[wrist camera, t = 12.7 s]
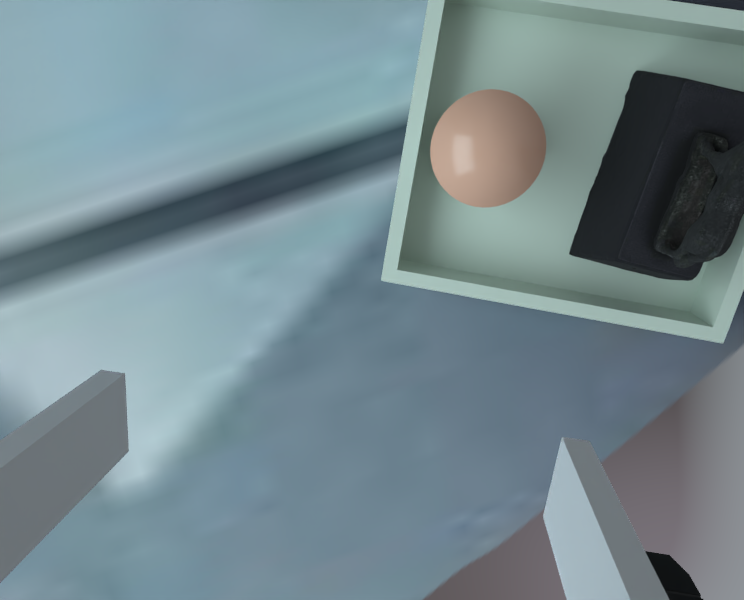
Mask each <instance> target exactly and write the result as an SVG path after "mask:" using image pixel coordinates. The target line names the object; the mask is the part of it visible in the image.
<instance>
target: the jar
mask: <svg viewBox="0 0 744 600" xmlns="http://www.w3.org/2000/svg"><path fill="white" fill-rule="evenodd" d="M545 155H546V135H545V130H544V127H543V124H542V122H541V120H540V118H539V116H538V114H537V113H536V111H535V110H534V109H533V107H532V106H531V105H530V104H529V103H528V102H526V101H525V100H524V99H522V98H521V97H519V96H517V95H515V94H513V93H510V92H508V91H503V90H496V89H487V90H480V91H476V92H473V93H470V94H468V95H466V96H464V97H462V98H460V99H459V100H457V101H456V102H454V103H453V104H452V105H451V106H450V107H449V108H448V109H447V110H446V111H445V112H444V114H443V115H442V116H441V118H440V119H439V121H438V123H437V125H436V127H435V130H434V132H433V136H432V140H431V147H430V157H431V164H432V168H433V171H434V174H435V176H436V178H437V180H438V182H439V183H440V185H441V186H442V187H443V189H444V190H445V191H446V192H447V193H448V194H449V195H451V196H452V197H453V198H455V199H456V200H458V201H460V202H462V203H464V204H467V205H470V206H474V207H482V208H485V207H496V206H500V205H503V204H506V203H508V202H511V201H513V200H514V199H516V198H518V197H519V196H521V195H522V194H523V193H524V192H525V191H526V190H527V189H529V188H530V186H531V185H532V184H533V183H534V181H535V180H536V178H537V177H538V175H539V173H540V171H541V169H542V166H543V163H544V160H545Z"/></svg>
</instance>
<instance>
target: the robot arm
mask: <svg viewBox="0 0 744 600" xmlns="http://www.w3.org/2000/svg"><path fill="white" fill-rule="evenodd" d="M128 451H129V449H128V427H127V406H126V385H125V373H119V372H112V371H105V370H100V371H99V372H98V373H96V374H95V375H93V376H92V377H90V378H89V379H88V380H86V381H85V382H83V383H82V384H80V385H79V386H78V387H76V388H75V389H73V390H72V391H70V392H69V393H68V394H66V395H65V396H63V397H62V398H60V399H59V400H57V401H56V402H55V403H53V404H52V405H50V406H49V407H47V408H46V409H45V410H43V411H42V412H40V413H39V414H37V415H36V416H35V417H33V418H32V419H30V420H29V421H27V422H26V423H25V424H23V425H22V426H20V427H19V428H17V429H16V430H14V431H13V432H12V433H10V434H9V435H7V436H6V437H4V438H3V439H2V440H0V583H1V582H2V581H3V579H4V578H5V577H6V576H7V575H8V574H9V573H10V572H11V571H12V570H13V569H14V568H15V567H16V566H17V565H18V564H19V563H20V562H21V561H22V560H23V559H24V558H25V557H26V556H27V555H28V554H29V553H30V552H31V551H32V550H33V549H34V548H35V547H36V546H37V545H38V544H39V543H40V542H41V541H42V540H43V539H44V537H45V536H46V535H47V534H48V533H49V532H50V531H51V530H52V529H53V528H54V527H55V526H56V525H57V524H58V523H59V522H60V521H61V520H62V519H63V518H64V517H65V516H66V515H67V514H68V513H69V512H70V511H71V510H72V509H73V508H74V507H75V506H76V505H77V504H78V503H79V502H80V501H81V500H82V499H83V498H84V496H85V495H86V494H87V493H88V492H89V491H90V490H91V489H92V488H93V487H94V486H95V485H96V484H97V483H98V482H99V481H100V480H101V479H102V478H103V477H104V476H105V475H106V474H107V473H108V472H109V471H110V470H111V469H112V468H113V467H114V466H115V465H116V464H117V463H118V462H119V461H120V460H121V459H122V458H123V457H124V455H125V454H126V453H127V452H128ZM543 518H544V521H545V525H546V528H547V532H548V535H549V539H550V542H551V546H552V549H553V553H554V557H555V560H556V564H557V567H558V571H559V574H560V578H561V581H562V585H563V588H564V592H565V596H566V599H567V600H703V599H701V597H700V596H701V595H700V593H699V591H698V590H697V588H696V586H695V584H694V583H693V581H692V579H691V577H690V576H689V574H688V573H687V572H686V571H685V570H684V569H683V568H681V566H680V565H679V564H678V563H677V562H676V561H675V560H673V558H672V557H671V556H670V555H665V554H659V553H652V552H646V551H645V550H644V548H643V546H642V544H641V542H640V540H639V539H638V537H637V535H636V532H635V531H634V529H633V526H632V524H631V523H630V521H629V519H628V517H627V515H626V513H625V511H624V509H623V507H622V505H621V503H620V501H619V499H618V497H617V495H616V493H615V491H614V489H613V487H612V485H611V483H610V481H609V479H608V477H607V475H606V473H605V471H604V469H603V467H602V465H601V463H600V461H599V459H598V457H597V455H596V453H595V451H594V449H593V447H592V445H591V443H590V441H586V440H579V439H572V438H566V437H562V439H561V443H560V448H559V452H558V456H557V460H556V465H555V469H554V473H553V477H552V481H551V486H550V490H549V494H548V498H547V503H546V507H545V511H544V515H543Z"/></svg>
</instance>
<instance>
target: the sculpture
mask: <svg viewBox="0 0 744 600" xmlns="http://www.w3.org/2000/svg"><path fill="white" fill-rule="evenodd" d="M743 214H744V92H742V91H738V90H733V89H729V88H725V87H721V86H717V85H712V84H708V83H704V82H699V81H695V80H691V79H687V78H682V77H677V76H670V75H665V74H659V73H654V72H648V71H640V70H637V71H636V72H635V73H634V74H633V76H632V78H631V81H630V85H629V89H628V91H627V93H626V95H625V102H624V106H623V110H622V112H621V115H620V117H619V120H618V122H617V125H616V127H615V130H614V132H613V135H612V138H611V140H610V143H609V146H608V148H607V151H606V153H605V154H604V156H603V158H602V162H601V166H600V168H599V171H598V174H597V176H596V178H595V181H594V184H593V186H592V188H591V190H590V192H589V196H588V199H587V202H586V205H585V208H584V211H583V213H582V216H581V219H580V222H579V225H578V228H577V231H576V233H575V235H574V239H573V242H572V245H571V248H570V252H569V255H572V256H575V257H579V258H583V259H587V260H591V261H594V262H598V263H602V264H606V265H609V266H613V267H617V268H620V269H624V270H627V271H632V272H637V273H640V274H645V275H649V276H653V277H656V278H661V279H668V280H685V281H689V280H693V279H694V278H695V277H697V275H698V274H699V272H700V270H701V268H702V265H703V263H704V262H708V261H711V260H713V259H714V258H717V257H720V256H722V255H723V254H724V253H726V252H727V250H728V249H729V247H730V246H731V244H732V242H733V239H734V237H735V235H736V232H737V230H738V227H739V224H740V221H741V218H742V216H743Z"/></svg>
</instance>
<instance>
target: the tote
mask: <svg viewBox="0 0 744 600" xmlns="http://www.w3.org/2000/svg"><path fill="white" fill-rule="evenodd" d="M637 70H640V71H648V72H654V73H659V74H665V75H670V76H677V77H682V78H687V79H691V80H695V81H699V82H704V83H708V84H712V85H717V86H721V87H725V88H729V89H733V90H738V91H742V92H744V11H740V10H733V9H726V8H719V7H712V6H705V5H698V4H691V3H684V2H677V1H670V0H428V5H427V10H426V16H425V22H424V28H423V34H422V40H421V46H420V52H419V58H418V64H417V70H416V76H415V82H414V88H413V94H412V100H411V105H410V111H409V117H408V123H407V129H406V135H405V141H404V147H403V153H402V159H401V165H400V171H399V177H398V183H397V189H396V195H395V200H394V206H393V212H392V218H391V224H390V230H389V236H388V242H387V248H386V254H385V260H384V266H383V272H382V278H381V281H385V282H391V283H396V284H402V285H407V286H413V287H418V288H424V289H429V290H434V291H440V292H445V293H451V294H456V295H462V296H467V297H473V298H478V299H484V300H489V301H494V302H500V303H505V304H511V305H516V306H522V307H527V308H533V309H538V310H543V311H549V312H554V313H560V314H565V315H571V316H576V317H582V318H587V319H592V320H598V321H603V322H609V323H614V324H620V325H625V326H631V327H636V328H642V329H647V330H652V331H658V332H663V333H669V334H674V335H680V336H685V337H691V338H696V339H701V340H707V341H712V342H718V343H724V340H725V338H726V335H727V332H728V330H729V327H730V325H731V322H732V319H733V317H734V314H735V311H736V309H737V306H738V304H739V301H740V298H741V296H742V293H743V290H744V214H743V216H742V218H741V221H740V224H739V227H738V230H737V232H736V235H735V237H734V239H733V242H732V244H731V246H730V247H729V249H728V250H727V252H726V253H724V254H723V255H722V256H720V257H717V258H714V259H713V260H711V261H708V262H704V263H703V265H702V268H701V270H700V272H699V274H698V275H697V277H695V278H694V279H693V280H689V281H685V280H668V279H661V278H656V277H653V276H649V275H645V274H640V273H637V272H632V271H627V270H624V269H620V268H617V267H613V266H609V265H606V264H602V263H598V262H594V261H591V260H587V259H583V258H579V257H575V256H572V255H569V252H570V248H571V245H572V242H573V239H574V235H575V233H576V231H577V228H578V225H579V222H580V219H581V216H582V213H583V211H584V208H585V205H586V202H587V199H588V196H589V192H590V190H591V188H592V186H593V184H594V181H595V178H596V176H597V174H598V171H599V168H600V166H601V162H602V158H603V156H604V154H605V153H606V151H607V148H608V146H609V143H610V140H611V138H612V135H613V132H614V130H615V127H616V125H617V122H618V120H619V117H620V115H621V112H622V110H623V106H624V102H625V95H626V93H627V91H628V89H629V85H630V81H631V78H632V76H633V74H634V73H635V72H636V71H637ZM487 89H496V90H503V91H508V92H510V93H513V94H515V95H517V96H519V97H521V98H522V99H524V100H525V101H526V102H528V103H529V104H530V105H531V106H532V107H533V109H534V110H535V111H536V113H537V114H538V116H539V118H540V120H541V122H542V124H543V127H544V130H545V135H546V155H545V160H544V163H543V166H542V169H541V171H540V173H539V175H538V177H537V178H536V180H535V181H534V183H533V184H532V185H531V186H530V188H529V189H527V190H526V191H525V192H524V193H523V194H522V195H521V196H519V197H518V198H516V199H514V200H513V201H511V202H508V203H506V204H503V205H500V206H496V207H485V208H482V207H474V206H470V205H467V204H464V203H462V202H460V201H458V200H456V199H455V198H453V197H452V196H451V195H449V194H448V193H447V192H446V191H445V190H444V189H443V187H442V186H441V185H440V183H439V182H438V180H437V178H436V176H435V174H434V171H433V168H432V164H431V157H430V147H431V140H432V136H433V132H434V130H435V127H436V125H437V123H438V121H439V119H440V118H441V116H442V115H443V114H444V112H445V111H446V110H447V109H448V108H449V107H450V106H451V105H452V104H453V103H454V102H456V101H457V100H459V99H460V98H462V97H464V96H466V95H468V94H470V93H473V92H476V91H480V90H487Z"/></svg>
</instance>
